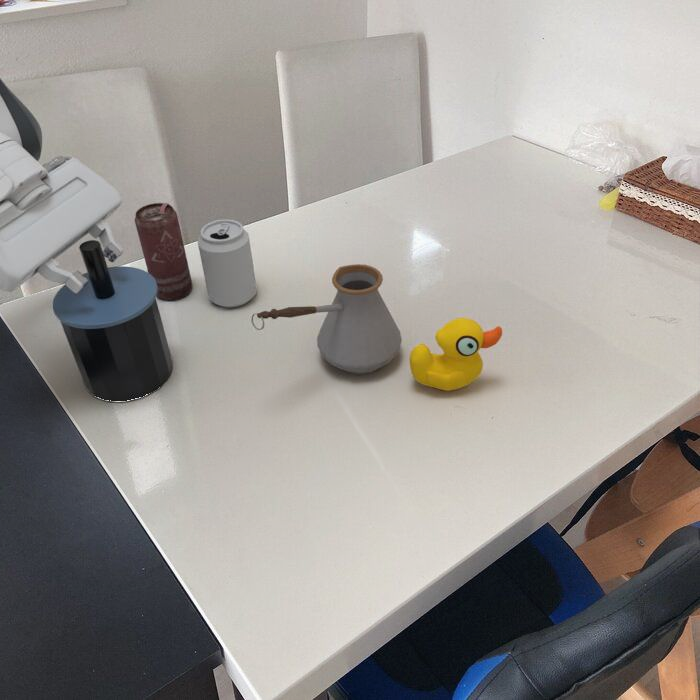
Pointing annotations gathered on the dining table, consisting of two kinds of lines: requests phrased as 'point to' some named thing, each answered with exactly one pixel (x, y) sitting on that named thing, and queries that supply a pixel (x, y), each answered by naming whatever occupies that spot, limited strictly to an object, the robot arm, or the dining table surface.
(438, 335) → the duckling
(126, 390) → the cup
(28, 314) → the dining table surface
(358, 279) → the coffee pot
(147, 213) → the can
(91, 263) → the lid
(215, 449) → the dining table surface
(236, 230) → the can
